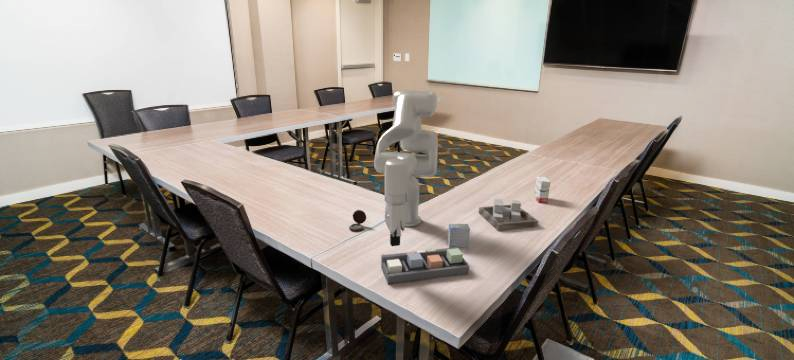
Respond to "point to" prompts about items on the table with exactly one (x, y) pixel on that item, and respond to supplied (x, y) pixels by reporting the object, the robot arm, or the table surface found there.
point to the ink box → (542, 189)
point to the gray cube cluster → (506, 210)
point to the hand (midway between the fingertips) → (395, 244)
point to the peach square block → (434, 261)
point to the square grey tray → (528, 222)
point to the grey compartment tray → (425, 271)
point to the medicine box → (458, 235)
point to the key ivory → (394, 266)
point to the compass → (358, 221)
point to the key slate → (415, 260)
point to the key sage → (454, 255)
